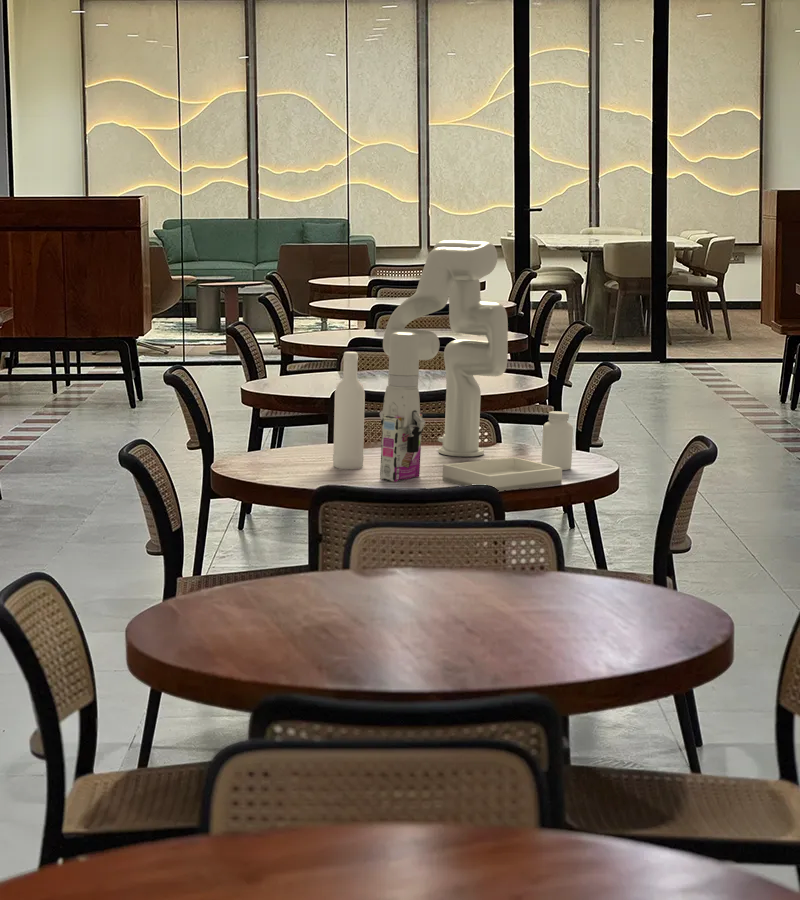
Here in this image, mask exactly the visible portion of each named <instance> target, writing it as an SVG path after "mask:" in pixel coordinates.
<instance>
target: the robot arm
mask: <svg viewBox="0 0 800 900" xmlns="http://www.w3.org/2000/svg"><path fill="white" fill-rule="evenodd" d="M497 263H498V251H497V248H496V247H495V245H494V244H493V243H491V242H489V241H477V240H464V239H463V240H461V239H457V240H456V239H448V240H447V239H446V240H440V241H438V242H437V243H436V244H434V247H433V249H432V250H430V252H429V253H428V254H427V256H426V260H425V263H424V267H423V269H422V272H421V275H420V278H419V281H418V285H417V288H416V291H415V293H414V294H412V295H411V296H409V297H408V298H406V299H405V300H403V302H401V303H400V304H399V305H398V306H397V307H396V308H395V309H394V311H393V312H392V313H391V315H390V317H389V319H388V322H387V325H386V328H385V330H384V331H385V332H384V335H383V339H382V349H383V351H384V353H385V354H386V356H388V381H387V385H386V388H385V393H384V397H383V406H382V410H381V411H380V412H379V418H380V424H381V425H382V421H383V416H384V415H395V416H398V417H401V428H406V429H407V431H408V434H409V436H410V437H408V438H407V452H408V453H413V452H418V450H419V436H421V437H422V435H421V432H423V431H424V427H425V424H426V420H425V419H424V418H423V416H422V417H421V416H420V414H421V409H420V408H421V405H420V404H421V402H420V391H419V376H420V375H419V374H420V373H419V370H420V361H428V360H429V361H430V360H432V359H434V358H435V357H436V356H437V355H438V352H439V350H440V347H441V346H440V340H439V339H440V338H439V337H438V335H437V334H436V333H434V332H433V331H431V330H426V329H414V328H412V329H411V328H406V326H407V325H408V324H410V323H411V322H412V321H414V320H416V319H419V318H421V317H425V316H428V315H429V314H433V313H435V312H438V311H441V310H443V309H444V308H445V307H446V306H447V304H449V305H448V306H449V307H448V312H449V313H448V314H449V317H448V321H449V328H450V330H451V332H453V333H454V334H457V335H459V336H469V337H470V336H471V337H483V338H486V339H487V340H479V339H478V340H477V339H463V338H462V339H461V338H460V339H454V340H451V341H450V342H449V343H447V344H446V346H445V348H444V351H443V358H444V359H443V360H444V367H445V368H444V369H445V378H446V379H445V380H446V381H445V383H446V390H445V391H446V393H445V416H444V417H445V419H444V420H445V421H444V434H442V436H439V437H438V438H437V441H438V442H440V443H442V446H440V447H438V453H440V454H442V455H446V456H452V457H478V456H482V455H484V453H485V449H483V448H481V447H479V445H480V444H479V443H480V442H479V441H480V423H481V422H480V417H481V415H480V414H481V399H482V397H481V393H482V392H481V388H480V387H481V386H479V383H478V382H477V380H476V378H475V377H474V376H484V377H500V376H503V374H505V372H506V371H507V366H508V354H509V353H508V350H509V347H508V346H509V345H508V344H509V342H508V339H509V337H508V336H509V327H508V326H509V323H508V313H507V310H506V308H505V307H504V306H503V305H502V304H501V303H499V302H496V301H484V300H483V301H482V299H481V281H480V279H482V278H484V277H487V276H489V275H490V274H491V273H492V272H493V271H494V270H495V268H496V266H497ZM448 301H449V302H448ZM412 429H414V430H413V431H412Z"/></svg>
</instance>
